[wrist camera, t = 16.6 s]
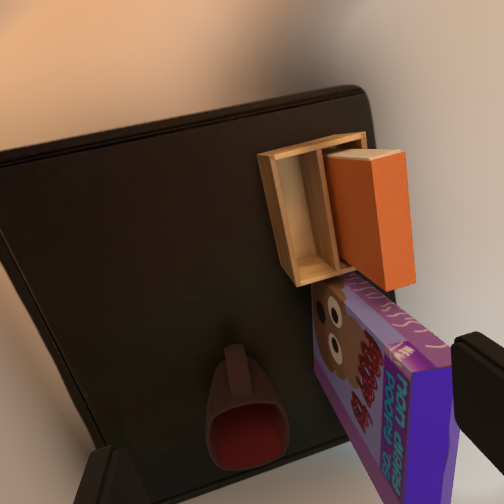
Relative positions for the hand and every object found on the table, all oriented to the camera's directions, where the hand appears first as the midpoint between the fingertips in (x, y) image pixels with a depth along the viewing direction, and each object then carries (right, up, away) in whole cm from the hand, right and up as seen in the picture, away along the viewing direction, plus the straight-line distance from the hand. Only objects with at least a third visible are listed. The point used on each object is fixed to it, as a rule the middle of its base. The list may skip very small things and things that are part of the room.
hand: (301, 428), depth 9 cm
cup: (-4, -11, +41) cm, 43 cm away
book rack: (+6, +11, +36) cm, 38 cm away
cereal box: (+10, -5, +42) cm, 43 cm away
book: (+8, +12, +35) cm, 38 cm away
